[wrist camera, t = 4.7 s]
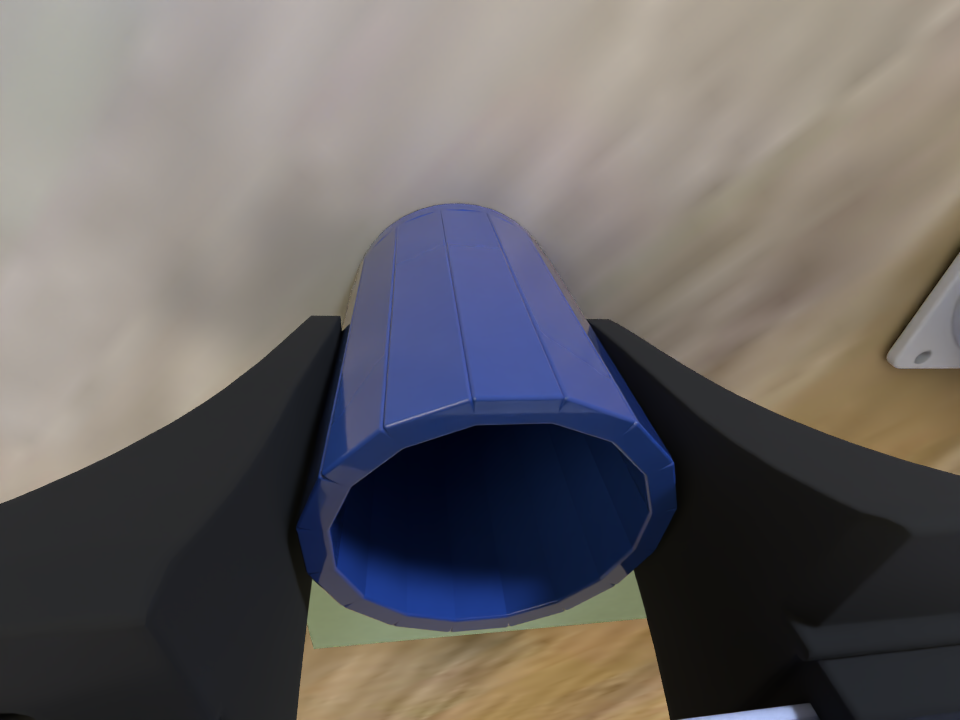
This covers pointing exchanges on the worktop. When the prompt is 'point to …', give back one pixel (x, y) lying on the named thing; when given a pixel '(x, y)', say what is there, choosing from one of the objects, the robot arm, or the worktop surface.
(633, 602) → the sage mat
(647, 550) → the blue cup
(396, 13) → the worktop surface
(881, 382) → the worktop surface
